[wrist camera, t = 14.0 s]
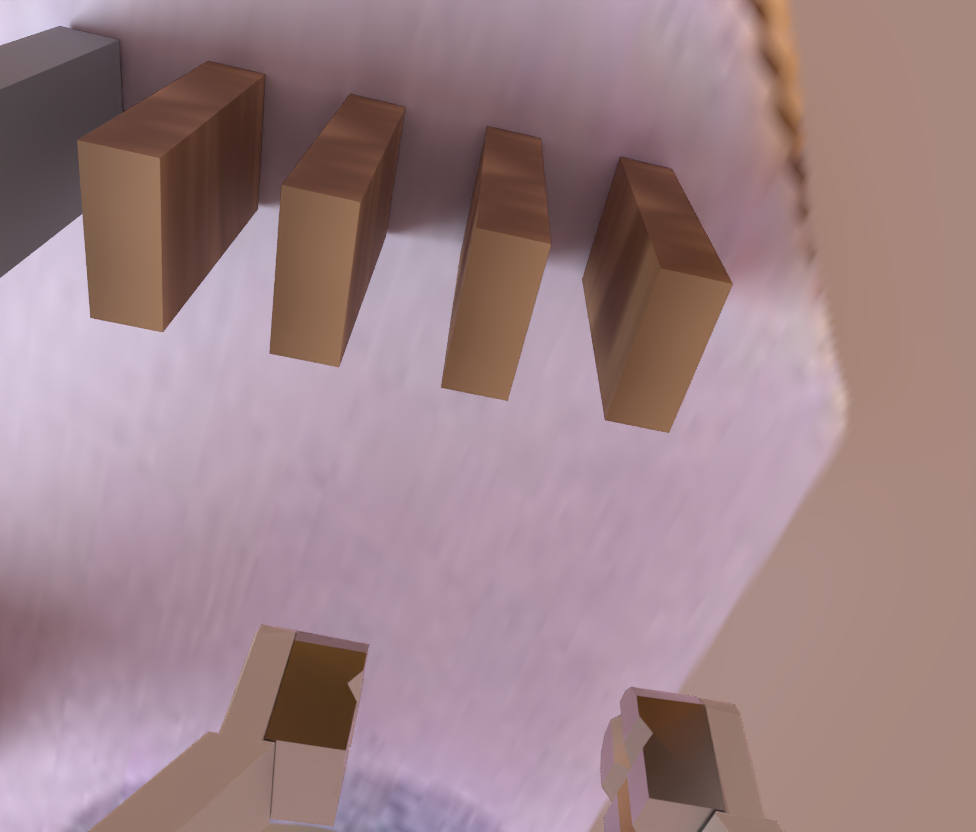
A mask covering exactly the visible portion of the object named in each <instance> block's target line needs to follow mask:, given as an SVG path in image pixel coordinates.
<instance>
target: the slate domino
mask: <svg viewBox="0 0 976 832" xmlns="http://www.w3.org/2000/svg"><path fill="white" fill-rule="evenodd" d="M121 113H122V91H121V68H120V44H119V40H118V39H114V38H109V37H105V36H101V35H96V34H92V33H88V32H84V31H79V30H75V29H71V28H66V27H62V26H58V27H55V28H52V29H49V30H46V31H43V32H40V33H37V34H34V35H31V36H28V37H25V38H22V39H19V40H16V41H13V42H10V43H7V44H4V45H1V46H0V278H1V277H2V276H3V275H4V274H6V273H7V272H8V271H10V270H11V269H12V268H13V267H15V266H16V265H17V264H19V263H20V262H21V261H22V260H24V259H25V258H26V257H27V256H29V255H30V254H31V253H33V252H34V251H35V250H36V249H38V248H39V247H40V246H42V245H43V244H44V243H45V242H47V241H48V240H49V239H50V238H52V237H53V236H54V235H56V234H57V233H58V232H59V231H61V230H62V229H63V228H65V227H66V226H67V225H68V224H70V223H71V222H72V221H74V220H75V219H76V218H77V217H79V216H80V215H81V214H82V199H81V186H80V173H79V160H78V146H77V140H78V139H80V138H81V137H83V136H84V135H86V134H88V133H89V132H91V131H93V130H94V129H96V128H98V127H99V126H101V125H103V124H104V123H106V122H108V121H109V120H111V119H113V118H114V117H116V116H118V115H119V114H121Z"/></svg>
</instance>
